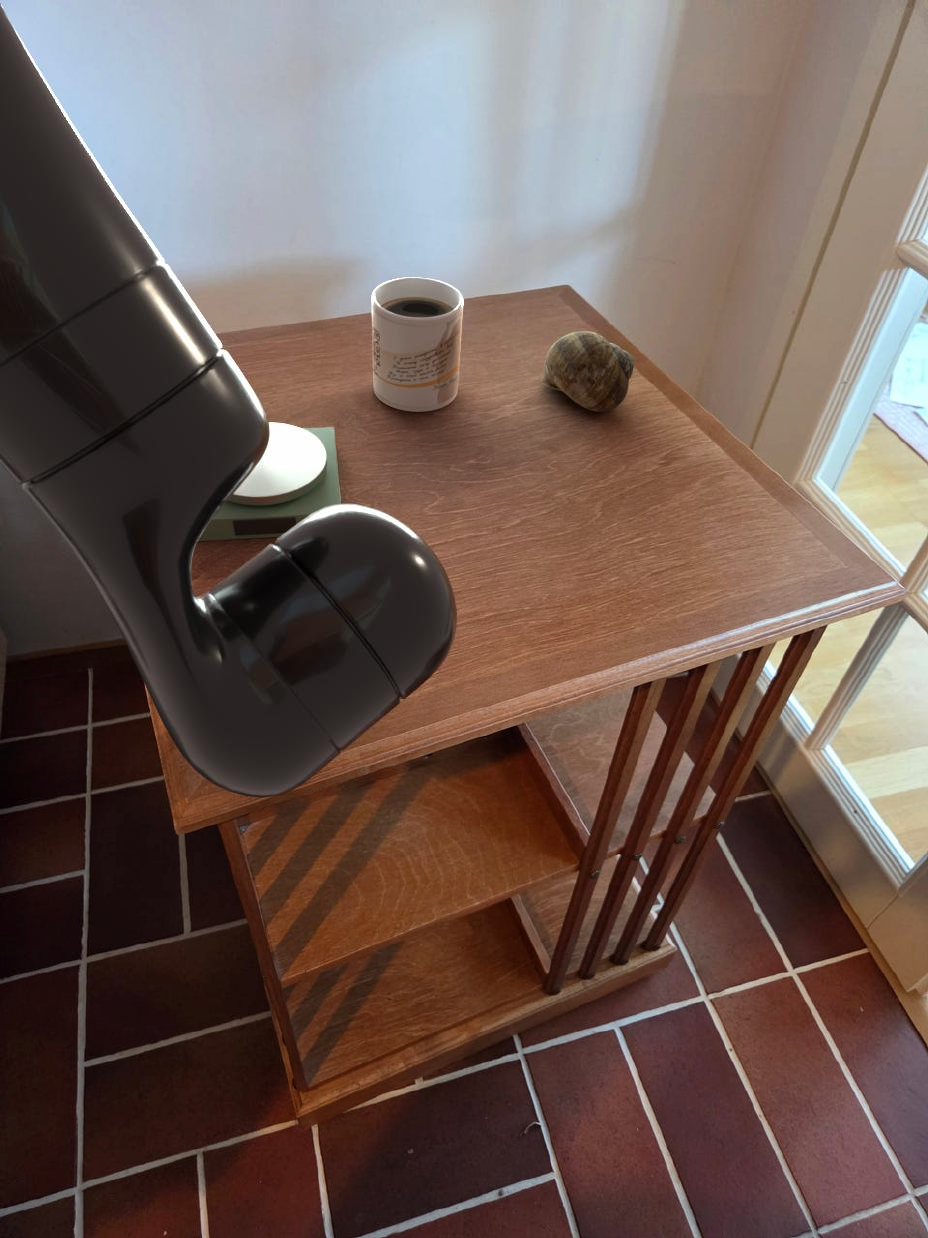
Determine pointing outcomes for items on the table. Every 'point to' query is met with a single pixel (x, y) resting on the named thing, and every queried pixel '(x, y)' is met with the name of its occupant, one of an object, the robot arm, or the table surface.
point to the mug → (416, 343)
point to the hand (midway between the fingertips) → (264, 630)
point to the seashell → (588, 370)
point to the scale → (281, 486)
